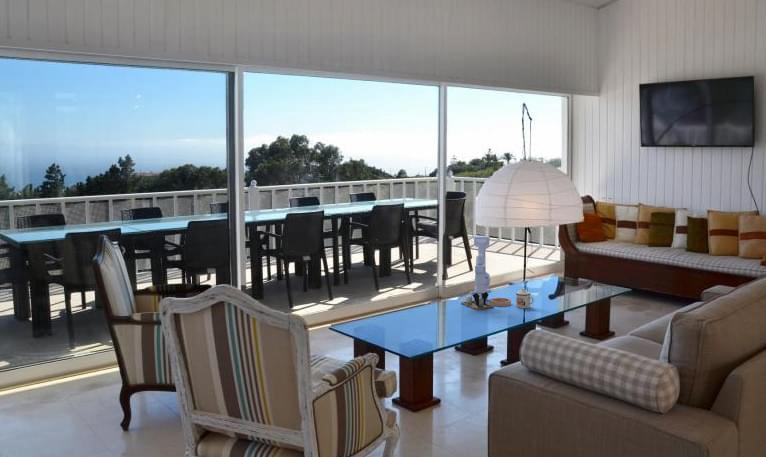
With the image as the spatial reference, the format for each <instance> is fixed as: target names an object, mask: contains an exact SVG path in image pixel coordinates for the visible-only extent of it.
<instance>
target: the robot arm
mask: <svg viewBox="0 0 766 457" xmlns="http://www.w3.org/2000/svg"><path fill="white" fill-rule="evenodd" d="M490 239H491V238H490V236H489V235H474V236H473V244H474V246H475V248H477V252H478V253H477V254H478V255H477V256H476V260H475V266H474V274H475V275H474V285H475V287H474V290H471V291H469V296H472V298H473V300H474V299H475V303H476V305H477V306H479V295H480V298H484V305H485V303H487V302H486V301H487V300H489V301H490V298H489V294H490V293H492V289H490V288H489V287H490V286H491V278H490V276H491V275H490V274H489V272H487V270H486V269H487V268H486V266H487V265H486V263H487V262H486V258H487V257H486V250H487V248H489V247H490Z"/></svg>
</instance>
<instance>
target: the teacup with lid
mask: <svg viewBox="0 0 766 457" xmlns="http://www.w3.org/2000/svg"><path fill="white" fill-rule="evenodd" d="M515 294H516V297H515V298H516V299H515V305H516V307H517V308H518V309H530V307H531V305H533V304H534V301H535V300H534V297H533V296H531V292H530V291H528V290H526V288H521V290H518V291H517V292H516V293H515Z"/></svg>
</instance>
